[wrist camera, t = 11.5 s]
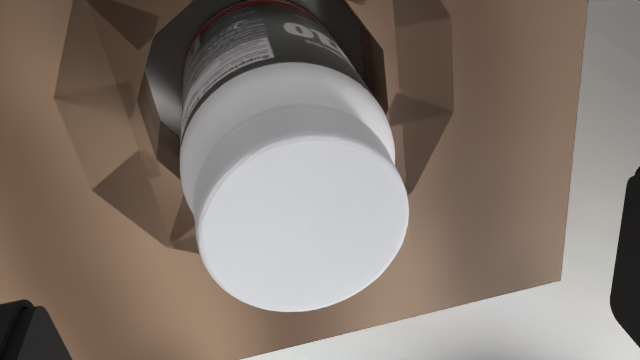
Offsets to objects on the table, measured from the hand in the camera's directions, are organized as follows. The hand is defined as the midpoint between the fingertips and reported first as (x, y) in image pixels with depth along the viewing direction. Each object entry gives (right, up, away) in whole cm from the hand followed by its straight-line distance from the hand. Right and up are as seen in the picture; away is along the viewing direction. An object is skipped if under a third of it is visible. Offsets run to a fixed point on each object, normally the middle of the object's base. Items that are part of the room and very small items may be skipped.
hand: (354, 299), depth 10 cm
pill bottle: (-2, +5, +9) cm, 10 cm away
